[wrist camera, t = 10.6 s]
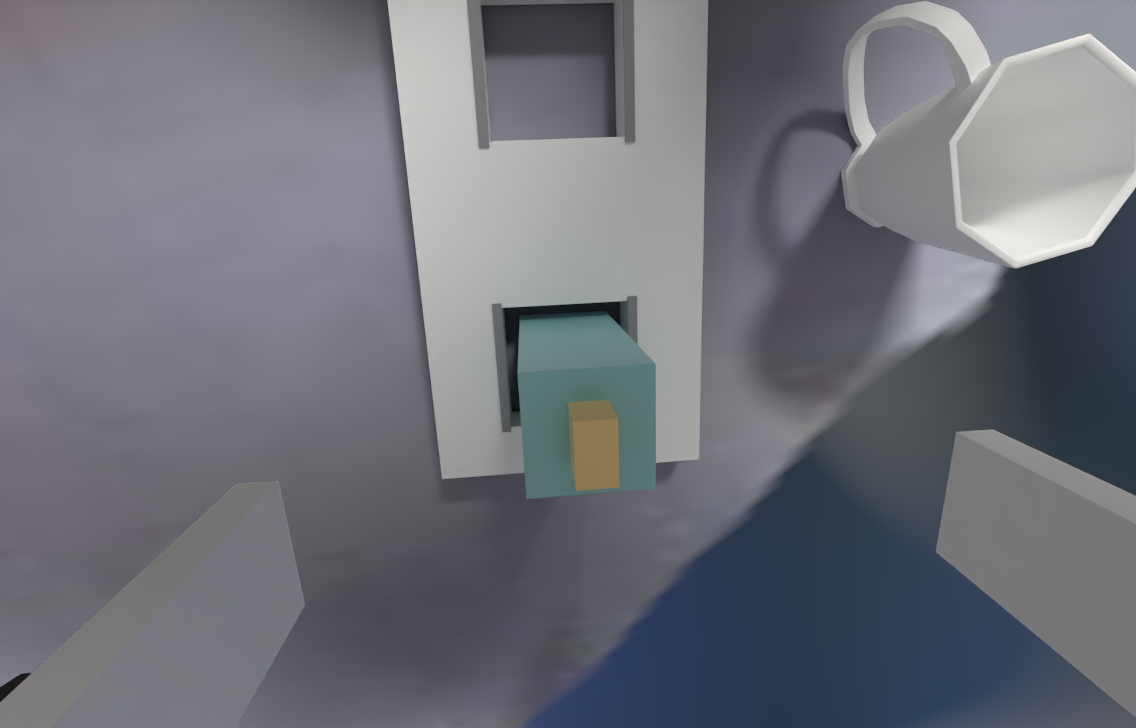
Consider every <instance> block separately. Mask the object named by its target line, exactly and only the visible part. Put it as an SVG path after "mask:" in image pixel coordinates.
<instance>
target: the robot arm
mask: <svg viewBox="0 0 1136 728" xmlns="http://www.w3.org/2000/svg"><path fill="white" fill-rule="evenodd" d="M936 552H937V553H938V554H939V555H940V556H942V557H943V558H944V559H945V560H947V561H948V562H949V563H950V564H951V565H953V566H954V567H955V568H956V569H957V570H959V571H960V572H961V573H962V574H963V575H965V576H966V577H967V578H968V579H969V580H971V581H972V582H973V583H975V584H976V585H977V586H978V587H979V588H980V589H981V590H983V591H984V592H985V593H986V594H988V595H989V596H990V597H991V598H992V599H994V600H995V601H996V602H997V603H998V604H1000V605H1001V606H1002V607H1003V608H1005V609H1006V610H1007V611H1008V612H1009V613H1010V614H1012V615H1013V616H1014V617H1015V618H1016V619H1018V620H1019V621H1020V622H1021V623H1022V624H1024V625H1025V626H1026V627H1028V628H1029V629H1030V630H1031V631H1032V632H1033V633H1035V634H1036V635H1037V636H1038V637H1040V638H1041V639H1042V640H1043V641H1044V642H1045V643H1047V644H1048V645H1049V646H1050V647H1051V648H1053V649H1054V650H1055V651H1056V652H1058V653H1059V654H1060V655H1061V656H1062V657H1064V658H1065V659H1066V660H1067V661H1068V662H1070V663H1071V664H1072V665H1073V666H1075V667H1076V668H1077V669H1078V670H1079V671H1081V672H1082V673H1083V674H1084V675H1085V676H1086V677H1088V678H1089V679H1090V680H1091V681H1092V682H1094V683H1095V684H1096V685H1097V686H1098V687H1100V688H1101V689H1102V690H1103V691H1104V692H1106V693H1107V694H1108V695H1109V696H1111V697H1112V698H1113V699H1114V700H1115V701H1117V702H1118V703H1119V704H1120V705H1121V706H1123V707H1124V708H1125V709H1126V710H1128V711H1129V712H1130V713H1131V714H1132V715H1134V716H1135V717H1136V496H1135V495H1132V494H1130V493H1128V492H1126V491H1124V490H1121V489H1120V488H1117V487H1115V486H1113V485H1111V484H1109V483H1107V482H1104V481H1102V480H1100V479H1098V478H1096V477H1094V476H1092V475H1089V474H1087V473H1085V472H1083V471H1081V470H1079V469H1076V468H1074V467H1072V466H1070V465H1068V464H1066V463H1064V462H1061V461H1059V460H1057V459H1055V458H1053V457H1051V456H1049V455H1047V454H1044V453H1042V452H1040V451H1038V450H1036V449H1034V448H1031V447H1029V446H1027V445H1025V444H1023V443H1021V442H1019V441H1016V440H1014V439H1012V438H1010V437H1008V436H1006V435H1004V434H1001V433H999V432H997V431H995V430H979V431H965V432H956V437H955V443H954V449H953V455H952V461H951V467H950V472H949V478H948V485H947V490H946V495H945V502H944V507H943V513H942V520H941V525H940V531H939V537H938V543H937V548H936ZM304 607H305V602H304V598H303V593H302V588H301V584H300V579H299V574H298V569H297V565H296V560H295V555H294V551H293V546H292V541H291V537H290V532H289V527H288V522H287V518H286V513H285V508H284V504H283V499H282V494H281V490H280V485H279V481H266V482H252V483H238V484H235V485H234V486H233V487H232V488H231V489H229V490H228V491H227V492H226V493H225V494H224V495H223V496H222V497H221V498H220V499H219V500H218V501H217V502H215V503H214V504H213V505H212V506H211V507H210V508H209V509H208V510H207V511H206V512H205V513H204V514H203V515H201V516H200V517H199V518H198V519H197V520H196V521H195V522H194V523H193V524H192V525H191V526H190V527H189V528H187V529H186V530H185V531H184V532H183V533H182V534H181V535H180V536H179V537H178V538H177V539H176V540H175V541H173V542H172V543H171V544H170V545H169V546H168V547H167V548H166V549H165V550H164V551H163V552H162V553H161V554H159V555H158V556H157V557H156V558H155V559H154V560H153V561H152V562H151V563H150V564H149V565H148V566H147V567H145V568H144V569H143V570H142V571H141V572H140V573H139V574H138V575H137V576H136V577H135V578H134V579H133V580H131V581H130V582H129V583H128V584H127V585H126V586H125V587H124V588H123V589H122V590H121V591H120V592H119V593H117V594H116V595H115V596H114V597H113V598H112V599H111V600H110V601H109V602H108V603H107V604H106V605H105V606H103V607H102V608H101V609H100V610H99V611H98V612H97V613H96V614H95V615H94V616H93V617H92V618H91V619H89V620H88V621H87V622H86V623H85V624H84V625H83V626H82V627H81V628H80V629H79V630H78V631H77V632H75V633H74V634H73V635H72V636H71V637H70V638H69V639H68V640H67V641H66V642H65V643H64V644H63V645H61V646H60V647H59V648H58V649H57V650H56V651H55V652H54V653H53V654H52V655H51V656H50V657H49V658H47V659H46V660H45V661H44V662H43V663H42V664H41V665H40V666H39V667H38V668H37V669H36V670H35V671H33V672H32V673H26V674H20V675H19V676H17V677H15V678H14V679H12V680H11V681H9V682H8V683H6V684H5V685H3V686H2V687H0V728H236V727H237V725H238V723H239V721H240V720H241V718H242V716H243V714H244V713H245V711H246V709H247V707H248V705H249V704H250V702H251V700H252V698H253V697H254V695H255V693H256V691H257V690H258V688H259V686H260V684H261V682H262V681H263V679H264V677H265V675H266V674H267V672H268V670H269V668H270V667H271V665H272V663H273V661H274V660H275V658H276V656H277V654H278V652H279V651H280V649H281V647H282V645H283V644H284V642H285V640H286V638H287V637H288V635H289V633H290V631H291V630H292V628H293V626H294V624H295V622H296V621H297V619H298V617H299V615H300V614H301V612H302V610H303V608H304Z"/></svg>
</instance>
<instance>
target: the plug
mask: <svg viewBox="0 0 1136 728" xmlns="http://www.w3.org/2000/svg"><path fill="white" fill-rule="evenodd" d="M517 373H518V388H519V402H520V416H521V430H522V444H523V458H524V472H525V487H526V499H535V498H548V497H560V496H573V495H585V494H598V493H610V492H623V491H636V490H648V489H656V364H655V362H654V361H653V360H652V359H651V358H650V357H649V356H648V355H647V354H646V353H645V352H644V351H643V350H642V349H641V348H640V347H639V346H638V345H637V344H636V343H635V342H634V341H633V339H632V338H631V337H630V336H629V335H628V334H627V333H626V332H625V331H624V330H623V329H622V328H621V327H620V326H619V325H618V324H617V323H616V322H615V321H614V320H613V319H612V318H611V317H610V315H609V314H608V313H607V312H606V311H591V312H574V313H556V314H538V315H521V316H520V324H519V347H518V371H517Z"/></svg>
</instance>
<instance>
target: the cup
mask: <svg viewBox="0 0 1136 728" xmlns="http://www.w3.org/2000/svg"><path fill="white" fill-rule="evenodd" d="M902 25H905V26H908V27H911V28H914V29H916V30H919V31H922V32H924V33H927V34H930V35H933V36H934V37H935V38H936V39H937V40H938V41H939V42H940V43H941V44H942V45H943V46H944V48H945V51H946V54H947V57H948V60H949V63H950V66H951V69H952V72H953V76H954V80H955V85H954V86H953V87H951V88H949V89H947V90H945V91H943V92H941V93H940V94H938V95H936V96H934V97H932V98H930V99H928V100H926V101H924V102H922V103H920V104H918V105H916V106H914V107H913V108H911V109H909V110H907V111H905V112H904V113H903V114H901V115H900V116H899V117H897V118H896V119H895V120H893V121H892V122H891V123H889V124H888V125H886V126H885V127H884V128H882V129H881V130H880V131H878V133H877V134H876V133H875V131H874V129H873V128H872V126H871V124H870V122H869V119H868V114H867V109H866V104H865V99H864V55H865V49H866V42H867V38H868V36H869V35H870V34H871V32H873V31H876V30H878V29H881V28H888V27H895V26H902ZM842 71H843V92H844V105H845V112H846V117H847V121H848V126H849V130H850V133H851V135H852V137H853V139H854V141H855V142H856V144H857V147H856V149H855V150H854V152H853V154H852V155H851V157H850V158H849V160H848V162H847V163H846V165H845V166H844V168H843V170H842V171H841V177H842V184H843V192H844V199H845V207H846V209H847V210H848V211H850V212H851V213H853V214H854V215H856V216H857V217H859V218H860V219H862V220H863V221H865V222H866V223H868V224H869V225H871V226H872V227H881V226H885V227H887V228H888V229H890V230H892V231H894V232H896V233H899V234H901V235H903V236H905V237H908V238H910V239H912V240H914V241H916V242H919V243H922V244H926V245H930V246H934V247H938V248H942V249H945V250H949V251H953V252H957V253H961V254H965V255H968V256H971V257H975V258H978V259H982V260H985V261H989V262H993V263H997V264H1000V265H1004V266H1008V267H1012V268H1019V267H1022V266H1025V265H1029V264H1032V263H1035V262H1039V261H1042V260H1045V259H1049V258H1052V257H1055V256H1059V255H1062V254H1066V253H1069V252H1073V251H1076V250H1079V249H1083V248H1086V247H1089V246H1092V245H1093V244H1094V243H1095V241H1096V240H1097V239H1098V237H1099V236H1100V235H1101V233H1102V232H1103V231H1104V229H1105V228H1106V227H1107V225H1108V224H1109V222H1110V221H1111V220H1112V218H1113V217H1114V216H1115V214H1116V213H1117V212H1118V210H1119V209H1120V208H1121V206H1122V205H1123V204H1124V202H1125V201H1126V200H1127V198H1128V197H1129V196H1130V194H1131V193H1132V191H1133V190H1134V189H1135V187H1136V72H1135V71H1134V70H1133V69H1131V68H1130V67H1129V66H1128V65H1127V64H1125V63H1124V62H1123V61H1122V60H1121V59H1119V58H1118V57H1117V56H1116V55H1115V54H1113V53H1112V52H1111V51H1110V50H1109V49H1107V48H1106V47H1105V46H1104V45H1103V44H1101V43H1100V42H1099V41H1098V40H1097V39H1095V38H1094V37H1093V36H1092V35H1091V34H1086V35H1083V36H1079V37H1076V38H1072V39H1069V40H1066V41H1062V42H1059V43H1055V44H1052V45H1049V46H1045V47H1042V48H1038V49H1035V50H1032V51H1028V52H1025V53H1021V54H1018V55H1015V56H1011V57H1008V58H1004V59H1002V60H1001V61H999V62H997V63H995V64H993V65H991V64H990V60H989V57H988V54H987V51H986V49H985V47H984V45H983V44H982V42H981V40H980V39H979V37H978V35H977V34H976V32H975V30H974V29H973V27H972V25H970V24H969V23H968V22H967V21H966V20H965V19H964V18H963V17H962V16H961V15H960V14H959V13H958V12H957V11H956V10H953V9H950V8H947V7H944V6H941V5H938V4H934V3H931V2H928V1H921V2H916V3H910V4H904V5H898V6H895V7H893V8H890V9H888V10H886V11H884V12H881V13H879V14H877V15H875V16H874V17H873V18H872V19H870V20H869V21H868V22H867V23H865V24H864V25H863V26H862V27H860V28H859V29H858V30H857V32H856V33H855V34H854V36H853V37H852V38H851V40H850V41H849V42H848V44H847V45H846V49H845V55H844V60H843V66H842Z"/></svg>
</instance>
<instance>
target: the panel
mask: <svg viewBox="0 0 1136 728" xmlns="http://www.w3.org/2000/svg"><path fill="white" fill-rule="evenodd" d="M387 1H388V10H389V18H390V27H391V36H392V45H393V53H394V62H395V71H396V80H397V89H398V97H399V106H400V115H401V124H402V132H403V141H404V150H405V159H406V167H407V176H408V185H409V194H410V202H411V211H412V220H413V229H414V238H415V246H416V255H417V264H418V273H419V281H420V290H421V299H422V308H423V316H424V325H425V334H426V343H427V351H428V360H429V369H430V378H431V387H432V395H433V404H434V413H435V422H436V430H437V439H438V448H439V457H440V465H441V474H442V479H450V478H463V477H476V476H489V475H502V474H516V473H525V472H524V458H523V444H522V430H521V416H520V411H519V412H512V408H511V395H510V381H509V368H508V355H507V341H506V328H505V315H504V308H509V307H527V306H545V305H563V304H581V303H599V302H617V301H620V327H621V328H622V329H623V330H624V331H625V332H626V333H627V334H628V335H629V336H630V337H631V338H632V339H633V341H634V342H635V343H636V344H637V345H638V346H639V347H640V348H641V349H642V350H643V351H644V352H645V353H646V354H647V355H648V356H649V357H650V358H651V359H652V360H653V361H654V362H655V364H656V463H660V462H673V461H686V460H699V437H700V387H701V338H702V288H703V239H704V189H705V139H706V90H707V40H708V0H387ZM589 3H614V42H615V94H616V137H598V138H570V139H541V140H512V141H491V128H490V115H489V101H488V88H487V75H486V61H485V48H484V35H483V21H482V8H481V5H533V4H589Z"/></svg>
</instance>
